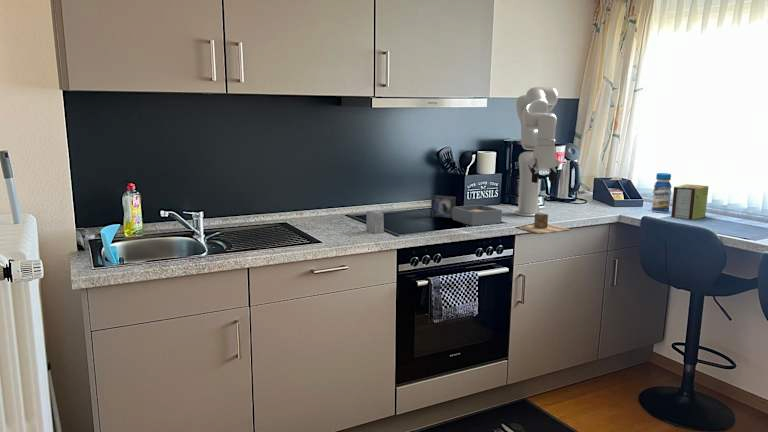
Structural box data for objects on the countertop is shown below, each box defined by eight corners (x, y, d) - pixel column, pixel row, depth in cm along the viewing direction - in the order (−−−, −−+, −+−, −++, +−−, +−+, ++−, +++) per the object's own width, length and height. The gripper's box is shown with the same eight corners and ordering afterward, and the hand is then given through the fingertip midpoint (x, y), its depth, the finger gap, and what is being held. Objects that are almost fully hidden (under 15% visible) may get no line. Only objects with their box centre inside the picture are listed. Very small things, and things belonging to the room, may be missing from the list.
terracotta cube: (475, 219, 272) (476, 209, 271) (484, 221, 269) (484, 210, 268) (468, 220, 269) (469, 210, 268) (477, 222, 265) (477, 211, 264)
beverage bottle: (671, 211, 303) (675, 173, 299) (665, 213, 297) (669, 174, 293) (654, 209, 308) (658, 172, 305) (648, 211, 303) (652, 173, 299)
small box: (430, 218, 281) (430, 196, 279) (435, 215, 287) (435, 194, 285) (450, 220, 276) (451, 198, 275) (455, 217, 282) (456, 196, 280)
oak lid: (542, 224, 270) (543, 209, 269) (570, 232, 254) (571, 215, 253) (511, 228, 262) (512, 212, 261) (538, 235, 246) (539, 219, 245)
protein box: (705, 216, 289) (709, 186, 287) (692, 220, 280) (695, 188, 277) (684, 213, 297) (687, 183, 294) (670, 217, 288) (673, 186, 285)
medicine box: (383, 233, 247) (384, 213, 245) (374, 234, 245) (374, 213, 243) (375, 229, 254) (375, 210, 252) (366, 230, 251) (366, 211, 250)
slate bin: (480, 218, 280) (480, 204, 278) (501, 224, 265) (501, 209, 264) (452, 221, 272) (452, 206, 271) (472, 227, 258) (472, 212, 257)
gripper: (554, 141, 258) (552, 179, 262) (524, 142, 251) (521, 181, 254) (566, 142, 252) (564, 181, 255) (535, 144, 244) (533, 184, 248)
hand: (543, 181), depth 255 cm, fingers open, 9 cm apart
